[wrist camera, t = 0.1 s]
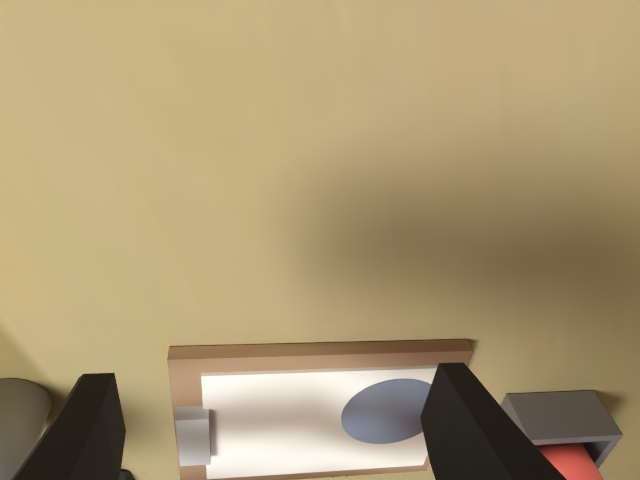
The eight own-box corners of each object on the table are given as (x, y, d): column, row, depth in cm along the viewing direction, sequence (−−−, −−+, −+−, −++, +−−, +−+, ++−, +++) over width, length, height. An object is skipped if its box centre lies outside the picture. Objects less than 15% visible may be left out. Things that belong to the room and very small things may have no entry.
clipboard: (422, 458, 33) (430, 482, 32) (182, 474, 31) (180, 500, 29) (468, 339, 27) (479, 363, 25) (169, 346, 24) (165, 373, 23)
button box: (559, 444, 34) (583, 488, 32) (479, 449, 33) (498, 495, 31) (593, 390, 31) (623, 434, 28) (506, 394, 30) (529, 440, 28)
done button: (569, 471, 31) (587, 504, 30) (515, 475, 31) (530, 508, 29) (593, 436, 29) (613, 469, 28) (535, 440, 29) (552, 473, 27)
